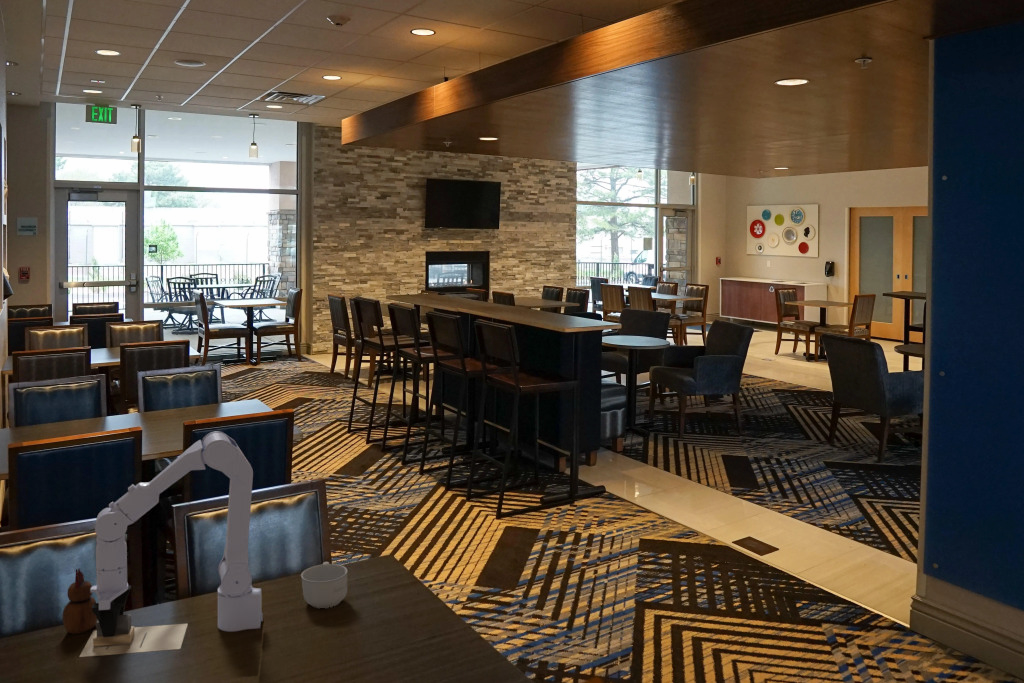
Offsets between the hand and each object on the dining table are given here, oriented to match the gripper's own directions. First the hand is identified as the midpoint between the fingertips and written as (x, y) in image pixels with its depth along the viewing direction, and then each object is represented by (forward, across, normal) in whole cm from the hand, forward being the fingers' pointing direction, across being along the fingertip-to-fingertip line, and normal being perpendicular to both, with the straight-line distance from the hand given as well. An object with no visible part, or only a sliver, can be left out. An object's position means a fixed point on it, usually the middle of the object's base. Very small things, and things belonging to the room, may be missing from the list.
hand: (112, 628), depth 171 cm
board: (+4, 0, +4) cm, 6 cm away
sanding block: (+3, 0, 0) cm, 3 cm away
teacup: (+4, -16, +44) cm, 47 cm away
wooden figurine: (+4, -8, -8) cm, 12 cm away
